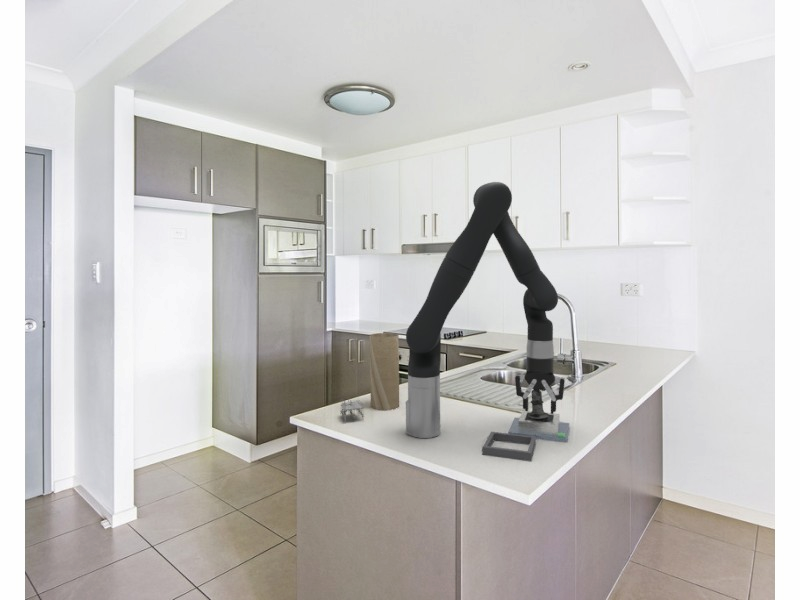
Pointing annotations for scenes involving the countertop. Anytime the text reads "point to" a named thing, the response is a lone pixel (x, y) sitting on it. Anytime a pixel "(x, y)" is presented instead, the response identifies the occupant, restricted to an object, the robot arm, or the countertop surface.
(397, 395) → the tube
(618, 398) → the countertop surface
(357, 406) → the building frame
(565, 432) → the port panel
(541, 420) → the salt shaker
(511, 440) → the dark grey square frame
